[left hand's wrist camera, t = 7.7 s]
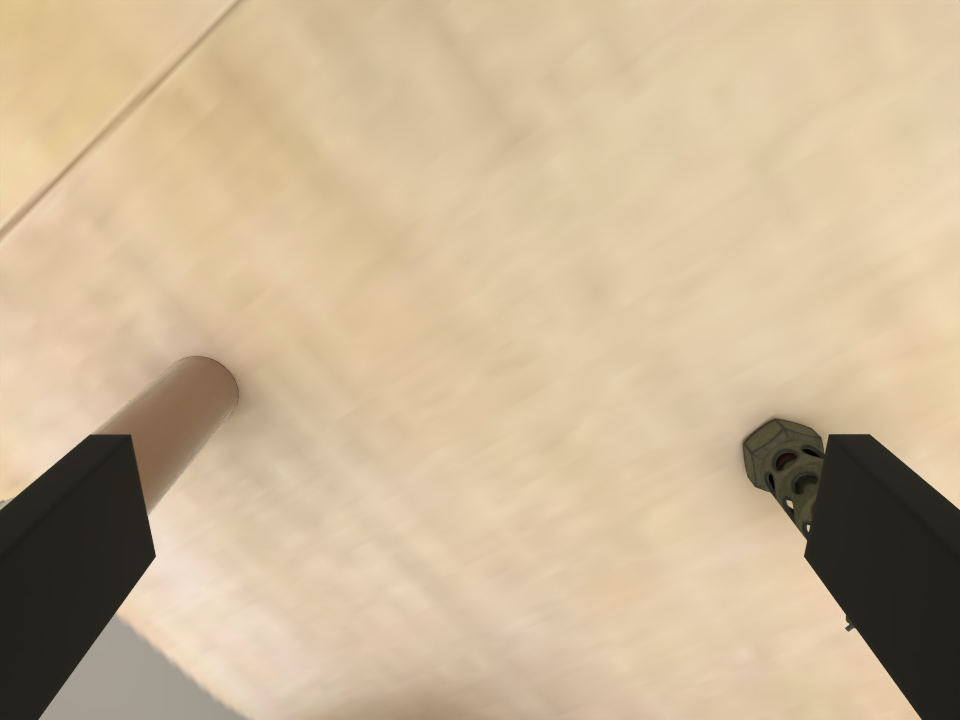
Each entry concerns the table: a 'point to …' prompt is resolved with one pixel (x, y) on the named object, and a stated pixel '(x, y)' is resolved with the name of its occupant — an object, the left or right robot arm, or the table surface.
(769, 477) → the grenade
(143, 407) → the jar
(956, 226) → the table surface
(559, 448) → the table surface
